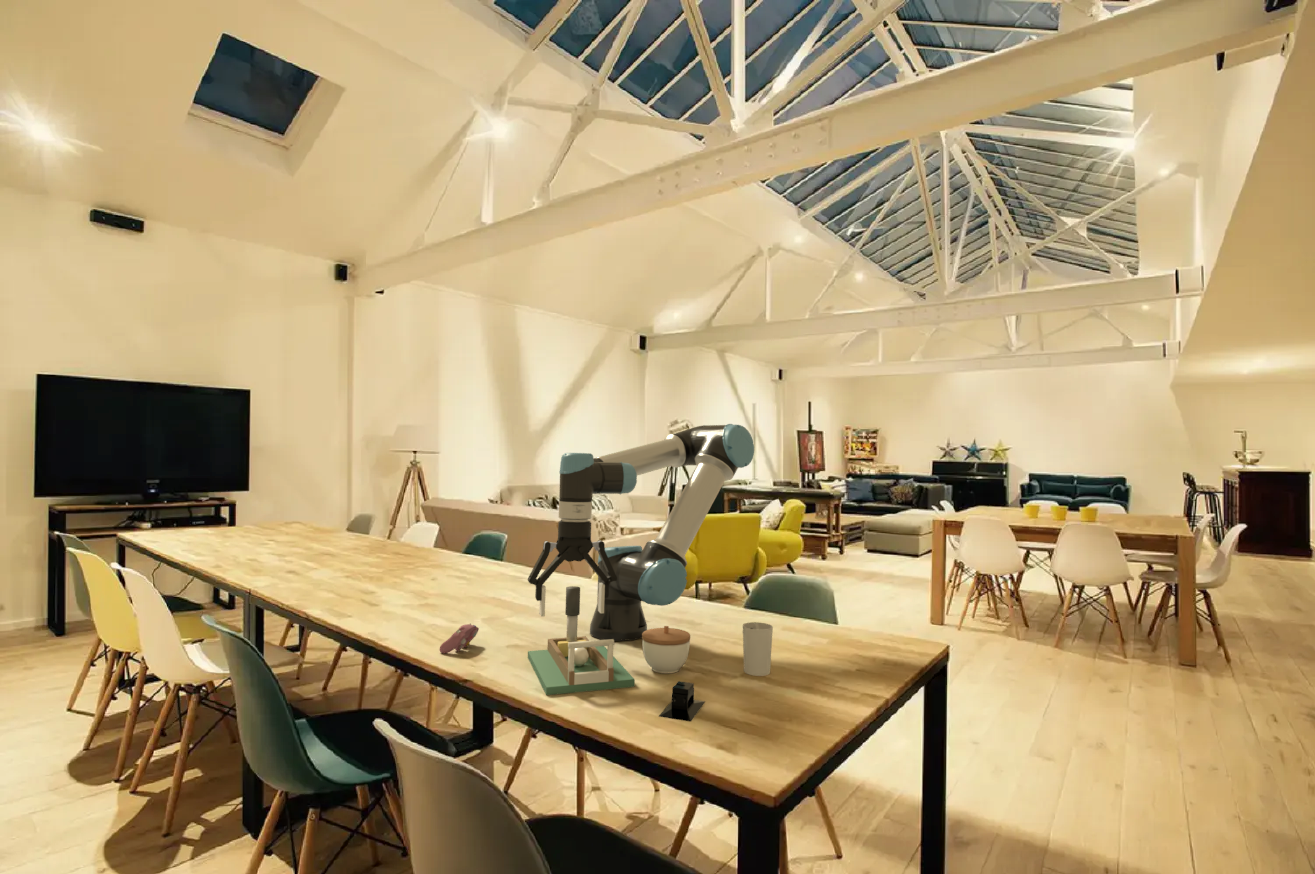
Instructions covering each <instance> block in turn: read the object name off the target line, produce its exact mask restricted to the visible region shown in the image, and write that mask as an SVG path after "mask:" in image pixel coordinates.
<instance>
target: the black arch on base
mask: <svg viewBox="0 0 1315 874" xmlns="http://www.w3.org/2000/svg"><path fill="white" fill-rule="evenodd" d="M694 686H695V683H693V682H688V681H687V682H686V681H680V680H679V681H677V682H676V683H675V684H674V685H673V686H672V689H671V690H672V693H671V701H670V703H669V704H668V705H667V706H665V708H664V709H663V710H662V711H661V713H660V714H658V717H659V718H664V719H671V720H679V721H685V722H692V721H693V720H694V718H695V717H696V715H697V714H698V713H699V712H700V710H701V709H702V707H703V705H705V703H706V701H705V700H698V699H697V700H696V699H695V687H694Z"/></svg>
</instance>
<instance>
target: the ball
mask: <svg viewBox="0 0 1315 874" xmlns="http://www.w3.org/2000/svg"><path fill="white" fill-rule="evenodd" d="M588 657H589V655H588V652H587V650H586V649H585V648H575V655H574V665H576V666H582V665H584V664H585V663H586V662H587V661H588Z"/></svg>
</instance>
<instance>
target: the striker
mask: <svg viewBox="0 0 1315 874" xmlns="http://www.w3.org/2000/svg"><path fill="white" fill-rule="evenodd" d="M580 605H581V587H580V586H573V585H570V586H566V588H565V611H564V612H565V615H566V618H567V619H566V638H567V639H566V641H560V642H558V648H559V650H560V651H561V653H562V654H563V656H564V657H567V656H568V653H569V648H568V642H580V641H586V640H577V637H578V622H579V621H578V619H579V617H578V616H580V614H581V613H580V611H581V608H580V607H581V606H580ZM584 648H585V649H586V650H587V647H584Z"/></svg>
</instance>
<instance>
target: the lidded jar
mask: <svg viewBox="0 0 1315 874" xmlns="http://www.w3.org/2000/svg"><path fill="white" fill-rule="evenodd" d="M641 639H642V643H641V644H642V653H643V658H644V660H645V662H646V663H647V665H648V666H649V667H651V670H652V671H654V672H655V673H659V674H674V673H677V672H679V671H680V669H681V668H682V667H683V666H684V664H685V663H686V662H687V660H688V657H689V653H690V642H691V634H690V632H689V631H686V630H683V629H680V628H673V627H669V625H664V626H663V627H656V628H654V627H653V628H649V629H647V630H646V631H644V632H643V633H642V638H641Z"/></svg>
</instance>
